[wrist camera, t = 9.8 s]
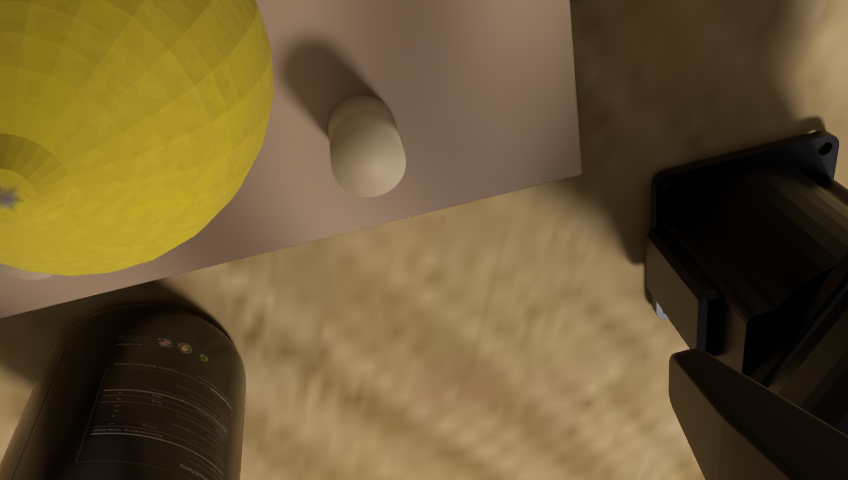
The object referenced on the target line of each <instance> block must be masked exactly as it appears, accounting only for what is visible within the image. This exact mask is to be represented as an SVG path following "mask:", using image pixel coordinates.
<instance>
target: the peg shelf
mask: <svg viewBox="0 0 848 480" xmlns="http://www.w3.org/2000/svg"><path fill="white" fill-rule="evenodd" d="M255 1H256V2H257V5H258V8H259V11H260V14H261V17H262V20H263V23H264V26H265V30H266V33H267V36H268V39H269V42H270V46H271V55H272V71H273V88H274V91H273V101H272V105H271V110H270V115H269V120H268V124H267V129H266V134H265V138H264V142H263V145H262V147H261V149H260V151H259V153H258V155H257V157H256V159H255V161H254V163H253V165H252V166H251V168H250V170H249V172H248V174H247V176H246V178H245V180H244V182H243V183H242V185H241V187H240V188H239V190H238V191H237V193H236V194H235V196H234V197H233V198H232V199H231V200H230V202H229V203H228V204H227V205H226V206H225V207H224V208H223V209H222V210H221V211H220V212H219V213H218V214H217V215H216V216H215V217H214V218H213V219H212V220H211V221H210V222H209V223H208V224H207V225H206V226H205V227H204V228H203V229H202V230H201V231H200V232H199V233H197V234H196V235H195V236H194V237H192V238H190V239H188V240H187V241H185V242H183V243H182V244H180V245H178V246H176V247H175V248H173V249H171V250H170V251H168V252H166V253H164V254H163V255H161V256H159V257H158V258H156V259H154V260H151V261H148V262H145V263H141V264H138V265H135V266H132V267H128V268H125V269H122V270H118V271H114V272H109V273H100V274H88V275H75V276H65V275H56V274H47V273H38V272H29V271H26V270H22V269H19V268H15V267H12V266H9V265H5V264H2V263H0V318H4V317H8V316H12V315H16V314H20V313H24V312H28V311H32V310H36V309H40V308H44V307H48V306H52V305H56V304H60V303H64V302H68V301H72V300H76V299H80V298H84V297H88V296H92V295H97V294H101V293H105V292H109V291H113V290H117V289H121V288H125V287H129V286H133V285H137V284H141V283H145V282H149V281H153V280H157V279H161V278H165V277H169V276H173V275H177V274H181V273H185V272H189V271H193V270H197V269H202V268H206V267H210V266H214V265H218V264H222V263H226V262H230V261H234V260H238V259H242V258H246V257H250V256H254V255H258V254H262V253H266V252H270V251H274V250H278V249H282V248H286V247H290V246H294V245H298V244H302V243H307V242H311V241H315V240H319V239H323V238H327V237H331V236H335V235H339V234H343V233H347V232H351V231H355V230H359V229H363V228H367V227H371V226H375V225H379V224H383V223H387V222H391V221H395V220H399V219H403V218H407V217H412V216H416V215H420V214H424V213H428V212H432V211H436V210H440V209H444V208H448V207H452V206H456V205H460V204H464V203H468V202H472V201H476V200H480V199H484V198H488V197H492V196H496V195H500V194H504V193H508V192H512V191H517V190H521V189H525V188H529V187H533V186H537V185H541V184H545V183H549V182H553V181H557V180H561V179H565V178H569V177H573V176H577V175H581V174H582V167H581V153H580V139H579V125H578V111H577V97H576V84H575V70H574V56H573V42H572V28H571V14H570V0H255Z"/></svg>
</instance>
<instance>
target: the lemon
mask: <svg viewBox="0 0 848 480" xmlns="http://www.w3.org/2000/svg"><path fill="white" fill-rule="evenodd" d="M273 91H274V88H273V71H272V55H271V46H270V42H269V39H268V36H267V33H266V30H265V26H264V23H263V20H262V17H261V14H260V11H259V8H258V5H257V2H256V1H255V0H0V263H2V264H5V265H9V266H12V267H15V268H19V269H22V270H26V271H29V272H38V273H47V274H56V275H65V276H75V275H88V274H100V273H109V272H114V271H118V270H122V269H125V268H128V267H132V266H135V265H138V264H141V263H145V262H148V261H151V260H154V259H156V258H158V257H159V256H161V255H163V254H164V253H166V252H168V251H170V250H171V249H173V248H175V247H176V246H178V245H180V244H182V243H183V242H185V241H187V240H188V239H190V238H192V237H194V236H195V235H196V234H197V233H199V232H200V231H201V230H202V229H203V228H204V227H205V226H206V225H207V224H208V223H209V222H210V221H211V220H212V219H213V218H214V217H215V216H216V215H217V214H218V213H219V212H220V211H221V210H222V209H223V208H224V207H225V206H226V205H227V204H228V203H229V202H230V200H231V199H232V198H233V197H234V196H235V194H236V193H237V191H238V190H239V188H240V187H241V185H242V183H243V182H244V180H245V178H246V176H247V174H248V172H249V170H250V168H251V166H252V165H253V163H254V161H255V159H256V157H257V155H258V153H259V151H260V149H261V147H262V145H263V142H264V138H265V134H266V129H267V124H268V120H269V115H270V110H271V105H272V101H273Z"/></svg>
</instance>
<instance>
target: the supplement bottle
mask: <svg viewBox="0 0 848 480" xmlns="http://www.w3.org/2000/svg"><path fill="white" fill-rule="evenodd" d="M245 395H246V376H245V369H244V365H243V362H242V359H241V357H240V355H239V353H238V351H237V349H236V348H235V346H234V345H233V343H232V342H231V341H230V340H229V338H228V337H227V336H226V335H225V334H224V333H223V332H222V331H220V330H219V329H218V328H217V327H215V326H214V325H213V324H211V323H210V322H208V321H206V320H205V319H203V318H201V317H199V316H197V315H195V314H192V313H190V312H187V311H184V310H181V309H178V308H174V307H169V306H163V305H156V304H132V305H123V306H117V307H113V308H109V309H105V310H102V311H99V312H97V313H95V314H92V315H90V316H88V317H86V318H84V319H82V320H81V321H79V322H77V323H76V324H75V325H73V326H72V327H71V328H69V329H68V330H67V331H66V332H65V333H64V334H63V335H62V336H61V337H60V338H59V339H58V341H57V342H56V343H55V345H54V346H53V348H52V350H51V351H50V353H49V355H48V357H47V359H46V361H45V364H44V366H43V368H42V370H41V372H40V374H39V376H38V379H37V381H36V383H35V386H34V388H33V390H32V392H31V395H30V397H29V399H28V402H27V404H26V406H25V409H24V411H23V413H22V415H21V418H20V420H19V422H18V425H17V427H16V429H15V432H14V434H13V436H12V438H11V441H10V443H9V445H8V448H7V450H6V452H5V455H4V457H3V459H2V461H1V464H0V480H240V471H241V457H242V442H243V428H244V413H245Z"/></svg>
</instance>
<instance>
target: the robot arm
mask: <svg viewBox="0 0 848 480" xmlns="http://www.w3.org/2000/svg"><path fill="white" fill-rule="evenodd" d="M823 143H824V146H823V147H822V148H821V149H819V147H820V146H821V145H822V144H823ZM818 149H819V150H818ZM838 149H839V140H838V139H837V137H835V136H834V135H832V134H831V133H829V132H827V131H818V132H814V133H810V134H806V135H802V136H798V137H794V138H790V139H786V140H782V141H778V142H774V143H770V144H766V145H762V146H757V147H753V148H749V149H745V150H741V151H737V152H733V153H729V154H725V155H721V156H717V157H713V158H709V159H705V160H701V161H697V162H693V163H689V164H685V165H681V166H677V167H673V168H669V169H665V170H663V171H660V172H659V173H658V174H657V175H655V177H654V178H653V180H652V184H651V226H652V228H651V229H649V231H648V233H647V235H646V286H647V289H648V290H649V292H650V293H651V294H652V307H653V310H654V312H655V313H656V314H657V316H658V317H659V318H661V319H669V320H670V321H671V323H672V324H673V325H674V327H675V328H676V330H677V331H678V333H679V334H680V335H681V337H682V338H683V340H684V341H685V342H686V344H687V345H688V347H689V348H690V349H689V350H685V351H681V352H677V353H674V354H672V355H671V357H670V360H669V397H670V401H671V405H672V407H673V410H674V412H675V414H676V416H677V419H678V421H679V423H680V425H681V427H682V430H683V432H684V434H685V436H686V438H687V440H688V443H689V445H690V447H691V449H692V451H693V454H694V456H695V458H696V460H697V462H698V464H699V467H700V469H701V471H702V473H703V475H704V478H705V480H848V189H846V188H845V187H843V186H842V185H841V184H839V183H838V182H836V181H835V180H834V174H835V168H836V162H837V156H838ZM669 181H672V183H671V185H670V186H669V187H667V188H663V187H664V185H665V184H666V183H667V182H669Z"/></svg>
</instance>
